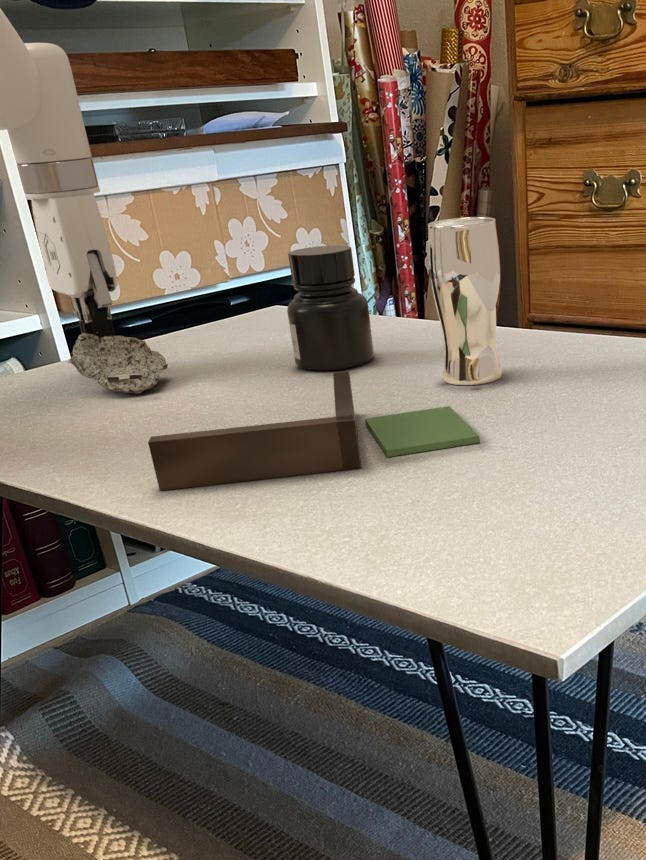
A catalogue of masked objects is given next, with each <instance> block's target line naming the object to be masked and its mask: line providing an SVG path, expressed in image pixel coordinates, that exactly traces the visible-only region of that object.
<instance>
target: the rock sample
mask: <svg viewBox="0 0 646 860" xmlns="http://www.w3.org/2000/svg"><path fill="white" fill-rule="evenodd" d="M97 333H98V332H97ZM67 364H71V365H73V367H74V368H75V369H76V371H77V372H78V373H79V374H80V375H81V376H83V377H85V378H88V379H92V380H94V381H95V382H96V383H97V385H100V386H101V387H103V388H105V389H107V390H109V391H111V392H121V393H127V394H128V393H129V394H135V395H139V394H142V393H143V392H144V391H147V390H150V389H153V388H154V387H155V386H156V385H157V384H158V382H159V379H160V378H159V377H160V374H161V373H162V372H163V371H164V370H165V371H166V369H168V367H169V366H168V365H169V363H167V361H166V358H165V356H163V354H162V353H160V352H159V351H155V350H152V349H151V347H150V346H149V345H148V344H147V342H146V341H145V340H143V339H139V338H137V337H130V336H129V337H127V336H123V335H116V336H111V337H107V336H105V337H104V338H101V337H98V336H96V335H93V334H86V333H83V334H82V333H81V334H79V335H78V337H77V339H75V344H74V345H73V347H72V351H71V352H70V358H69V359H68V361H67Z"/></svg>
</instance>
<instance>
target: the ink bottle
mask: <svg viewBox="0 0 646 860" xmlns="http://www.w3.org/2000/svg"><path fill="white" fill-rule="evenodd" d="M287 256H288V262H289V268H290V269H289V270H290V275H291V282H292V283H293V284H292V287H293V289H294V290H296V291H298V292H297V293H296V294H295V295H294V296H293V299H292V300H291V301H290V302H289V303H288V305H287V309H286V311H287V320H288V325H289V332H290V338H291V344H292V350H293V355H294V356H293V358H294V362H295V365H296V366H297V367H299V368H301V369H303V370H311V371H335V370H336V371H337V370H343V369H350V368H353V367H357V366H360V365H362V364H365V363H368V362H369V361H371V360H372V359H373V358H374V355H375V353H374V352H375V351H374V344H373V335H372V326H371V319H370V311H369V303H368V300H367V298H366V297H365V296H364V295H363V294H362V293H360V292H359V291H358V289H356V288H355V287H352V286H353V285H354V284H355V282H356V278H355V273H356V272H355V267H354V260H353V259H354V258H353V251H352V246H348V245H340V244H339V245H320V246H318V245H317V246H312V247H311V246H310V247H305V248H304V247H303V248H299V249H294V250H291V251H289V252H288V253H287Z"/></svg>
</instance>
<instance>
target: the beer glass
mask: <svg viewBox="0 0 646 860" xmlns="http://www.w3.org/2000/svg"><path fill="white" fill-rule="evenodd" d="M496 221H497V220H496V218H495V217H489V216H465V217H454V218H453V217H452V218H445V219H439V220H435V221H431V222H429V223H428V224H427V227H428V228H427V229H428V231H427V233H428V234H427V235H428V237H427V238H428V240H427V241H428V244H427V245H428V246H427V247H428V266H429V267H428V268H429V277H430V283H431V284H430V285H431V290H432V295H433V299H434V304H435V307H436V312H437V316H438V319H439V323H440V328H441V332H442V336H443V337H442V338H443V344H444V362H443V372H442V373H443V374H442V379H443V381H444V382H445V383H447V384H449V385H456V386H476V385H484V384H489V383H492V382H495V381H497V380H499V379H501V377H502V376H503V372H502V366H501V362H500V357H499V353H498V349H497V347H498V346H497V326H498V325H497V323H498V313H499V306H500V305H499V304H500V295H501V280H502V277H501V275H502V274H501V273H502V272H501V257H500V256H501V255H500V246H499V238H498V230H497V223H496Z"/></svg>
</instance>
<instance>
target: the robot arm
mask: <svg viewBox="0 0 646 860" xmlns="http://www.w3.org/2000/svg"><path fill="white" fill-rule="evenodd" d="M79 100H80V99H79V96H78V91H77V88H76V83H75V80H74V76H73V71H72V67H71V64H70V60H69V57H68V54H67V53H66V51H65V50H64V49H63V48H62V47H61V46H59V45H57V44H54V43H50V42H24V40H22V38H21V37H20V35H19V34H18V32H17V30H16V29H15V27H14V25H13V24H12V23H11V21H10V20H9V19H8V17H7V16H6V14H5V13H4V11H3V10H2V8H1V7H0V131H7V134H8V138H9V142H10V145H11V148H12V149H11V150H12V152H13V157H14V160H15V164H16V168H17V172H18V175H19V179H20V182H21V187H22V189H23V194H24V197H25V200H30V201H31V208H32V214H33V220H34V225H35V231H36V236H37V241H38V245H39V249H40V252H41V253H40V254H41V257H42V262H43V266H44V267H43V268H44V271H45V275H46V280H47V283H48V286H49V287H50V289H51V290H53V291H54V292H56V293H58V294H62V295H64V296H67V297H69V298H70V299H71V302H72V305H73V308H74V312H75V315H76V318H77V319H78V320H77V321H78V325H79V329H80V332H81V334H83V333H86V334H93V335H96V336H98V337H101V338H104V337H105V336H107V337H111V336H117V335H116V331H115V327H114V323H113V319H112V312H111V306H112V305H113V300H112V297H111V295H110V293H113V292H115V291H116V290H117V288H118V285H119V284H118V283H119V282H118V277H117V270H116V266H115V262H114V258H113V254H112V250H111V246H110V242H109V239H108V235H107V231H106V228H105V225H104V222H103V218H102V215H101V212H100V209H99V206H98V202H97V199H96V197H95V194H97V193H100V192H101V189H100V186H99V181H98V177H97V172H96V168H95V164H94V160H93V155H92V151H91V147H90V142H89V138H88V135H87V131H86V127H85V121H84V117H83V114H82V109H81V104H80V101H79ZM97 332H98V333H97Z"/></svg>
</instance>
